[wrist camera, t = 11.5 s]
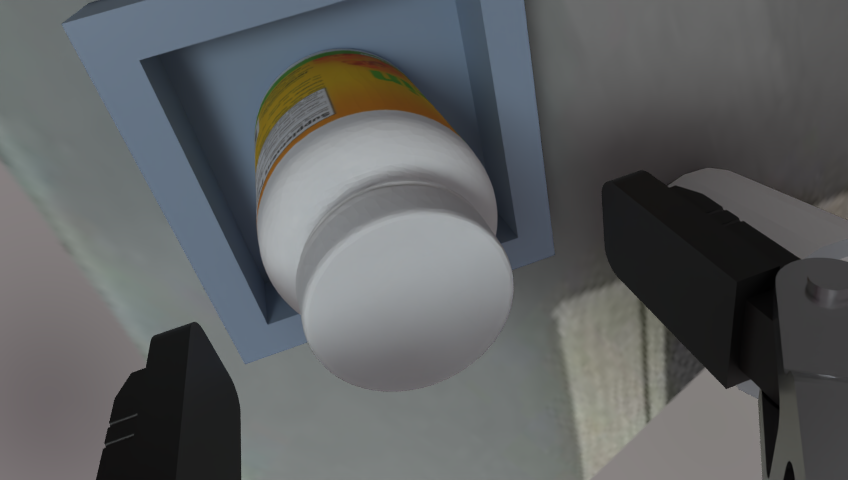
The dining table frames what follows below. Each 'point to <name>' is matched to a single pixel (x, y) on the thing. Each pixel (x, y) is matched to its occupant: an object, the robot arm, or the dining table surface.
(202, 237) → the tray
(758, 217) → the shot glass
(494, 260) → the supplement bottle
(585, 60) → the dining table surface
